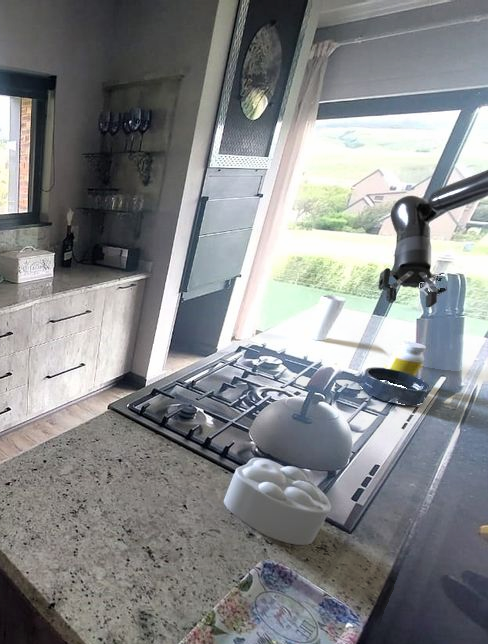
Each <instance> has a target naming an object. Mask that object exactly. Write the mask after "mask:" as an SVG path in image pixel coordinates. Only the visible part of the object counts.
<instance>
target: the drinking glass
mask: <svg viewBox="0 0 488 644" xmlns="http://www.w3.org/2000/svg"><path fill="white" fill-rule="evenodd" d="M345 303H346V298H345V297H342V296H339V295H333V294H331V295H330V294H323V295H321V296H320V298H319V301H318V303H317V305H316V309H315V311H314V314H313V318H312V321H311V323H310V324H311V325H310V327H309V331H308V332H307V338H309V339H311V340H314V341H322V342H323V341H326V339H327V337H328V335H329V334H330V331H331V330H332V328H333V326H334V324H335V323H336V321H337V319H338V317H339V316H340V314H341V313H342V310H343V309H344V306H345Z"/></svg>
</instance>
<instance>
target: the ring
mask: <svg viewBox="0 0 488 644" xmlns="http://www.w3.org/2000/svg"><path fill="white" fill-rule="evenodd" d="M360 379H361V380H360ZM360 379H359V381H360V383H359V382H358V383H359V386H361V387H362V388H363V390H364V391H365V392H364V391H363V390H362V391H363V392H364V393H365V394H367V395H369V396H371V397H373V396H374V397H373V398H375V397H376V398H375V399H377V398H378V399H377V400H380V399H381V400H380V401H383V400H384V401H383V402H386V401H387V403H389V402H388V401H390V400H391V399H393V398H397V399H398V400H397V401H398V403H401V404H405V405H404V406H406V405H417V404H420V403H423V402H424V403H425V401H426V400H427V398H428V397H429V395H430V393H431V391H432V390H433V386H432V384H431V383H429V381H427V380H425V379H423V378H422V377H419V376H417V375H415V376H414V375H411V374H408V373H405V372H402V371H398V370H393V369H388V368H385V367H379V366H378V367H375V366H373V367H367V368H366V369H365V370H364V372H363V373H362V376H361V378H360ZM380 380H387V381H389V382H390V383H393V384H397V385H402V386H404V387H406V388H407V389H406V388H401V387H397V386H394V385H390V384H387V383H384V382H382V381H380ZM359 386H358V387H359ZM424 403H423V404H424Z"/></svg>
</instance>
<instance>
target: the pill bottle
mask: <svg viewBox="0 0 488 644" xmlns="http://www.w3.org/2000/svg"><path fill="white" fill-rule="evenodd" d="M426 349H427V346H426V345H424V344H422V343H419V342H416V341H415V342H414V341H407V340H406V341H403V342H402V344H401V346H400V349H399V348H398V349H396V350H394V351H393V352H392V354H391V355H390V357H389V359H388V361H387V363H386V365H385V367H384V368H388V369H393V370H398V371H402V372H405V373H408V374H411V375H414V376H417V374H418V372H419V370H420V369H421V367H422V365H423V363H424V361H425V356H424V355H423V354H422V353H424V352H425V351H426Z"/></svg>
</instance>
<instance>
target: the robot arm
mask: <svg viewBox="0 0 488 644" xmlns="http://www.w3.org/2000/svg"><path fill="white" fill-rule="evenodd" d="M486 197H487V198H488V169H485V170H483V171H482V172H479V173H476V174H474V175H473V174H472V175H471V176H468V177H465V178H463V179H460V180H458V181H457V180H456V181H455V182H452V183H450V184H448V185H445V186H442V187H440V188H437V189H435V190H434V191H433V192H432V193H431V194H430V195H429V197H428V199H426V198H422V197H420V196H417V195H405V196H402V197H401V198H399V199H398V200H397V201H395V203H394V204H393V206H392V207H391V210H390V220H391V223H392V226H393V230H394V232H395V234H396V239H395V243H396V244H395V249H394V254H393V257H394V262H393V270H391V268H389V267H387V268H386V267H385V269H384V270H383V271H381V272H380V273H379V278H378V279H379V280H378V287H377V288H378V290H380V291H382V290H384V291H385V292H386V295H385V296H386V298H385V299H386V302H388V304H393V303H394V302H396V300H397V287H398V286H401V287H402V288H403V287H404V288H407V287H410V288H414V289H416V288H417V289H418V290H419V291H420V292H423V293H424V294H425V308H431V307H433V306H434V305H435V304H437V300H438V299H437V298H438V295H437V294H440V293H441V294H443V293H445V292H446V291H447V289H448V288H447V287H446V289H445V288H440V290H439V289H437V288H436V287H435V286H434V283H433V282H434V281H437V280H438V279H439V280H438V281H441V279H442V278H439V277H438V276H437V278H436V279H435V277H434V276H435V275H437V274H435V273H433V274H432V272H431V267H432V244H431V227H430V225H429V223H431V222H433V221H434V220H435V219H438V218H439V217H442V215H444V214H446V213H447V212H450V211H453V210H455V209H459V208H463V207H466V206H467V205H471V204H473V203H477V202H478V201H480V200H483V199H485V198H486ZM441 274H445V272H440V273H438V275H441ZM391 277H392V278H393V279H394V280H395V282H393V283H392V284H390V278H391ZM420 282H424V284H425V285H424V284H422V283H420ZM419 283H420V288H419ZM421 284H422V287H421ZM428 289H429V290H430V292H429V291H428ZM442 292H443V293H442ZM441 294H440V295H441Z"/></svg>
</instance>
